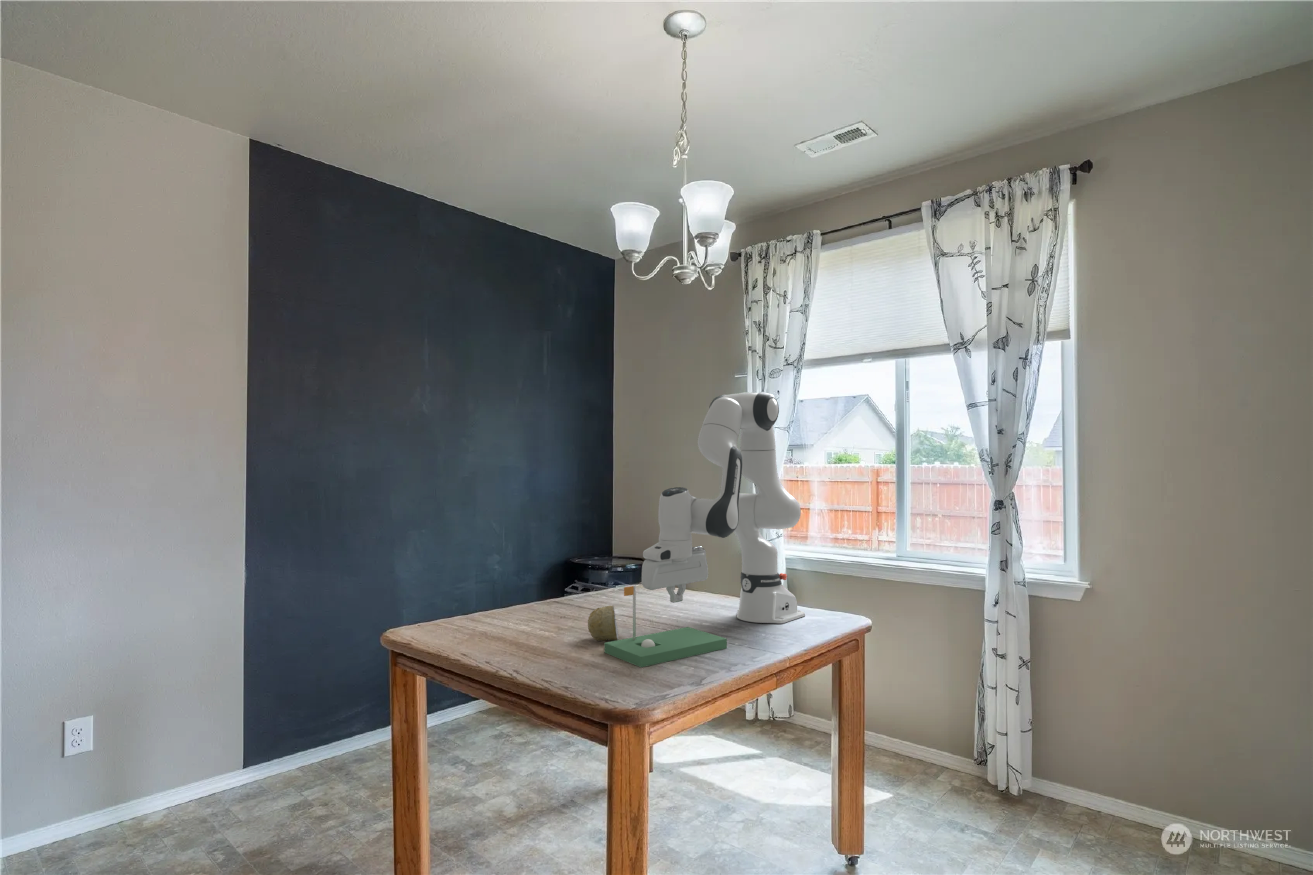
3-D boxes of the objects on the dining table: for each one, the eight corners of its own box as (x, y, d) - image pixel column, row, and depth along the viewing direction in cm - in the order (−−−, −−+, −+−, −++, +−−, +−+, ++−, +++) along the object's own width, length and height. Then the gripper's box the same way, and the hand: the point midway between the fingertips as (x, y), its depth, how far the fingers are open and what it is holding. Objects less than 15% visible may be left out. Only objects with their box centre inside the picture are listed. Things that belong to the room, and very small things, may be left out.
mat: (687, 635, 194) (687, 576, 195) (726, 648, 182) (726, 585, 182) (604, 652, 177) (604, 588, 178) (641, 667, 165) (641, 597, 165)
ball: (651, 643, 179) (644, 634, 178) (660, 646, 176) (652, 637, 175) (643, 654, 177) (635, 646, 176) (651, 658, 174) (644, 649, 173)
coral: (628, 618, 185) (594, 603, 185) (613, 652, 186) (579, 637, 186) (630, 608, 195) (598, 594, 195) (616, 640, 196) (584, 626, 196)
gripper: (697, 543, 191) (698, 593, 191) (637, 552, 179) (638, 605, 179) (712, 546, 186) (713, 597, 186) (652, 555, 174) (653, 610, 174)
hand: (676, 601), depth 183 cm, fingers closed
